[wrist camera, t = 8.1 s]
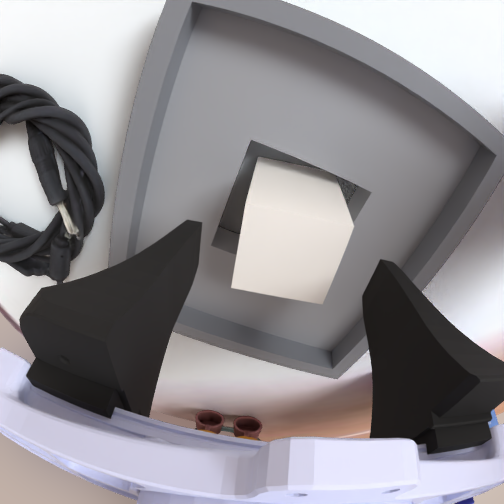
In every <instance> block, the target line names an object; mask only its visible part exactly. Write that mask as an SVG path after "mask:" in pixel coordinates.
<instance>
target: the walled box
mask: <svg viewBox="0 0 504 504" xmlns="http://www.w3.org/2000/svg"><path fill="white" fill-rule="evenodd" d="M251 140H253V141H255V142H258V143H261V144H263V145H266V146H268V147H271V148H273V149H276V150H278V151H281V152H283V153H286V154H288V155H291V156H293V157H296V158H298V159H300V160H303V161H305V162H307V163H310V164H312V165H314V166H316V167H319V168H321V169H323V170H325V171H328V172H330V173H332V174H334V175H337V176H339V177H341V178H343V179H345V180H347V181H349V182H351V183H354V184H356V185H358V186H357V188H356V190H355V192H354V193H353V195H352V197H351V199H350V200H349V202H348V204H347V207H348V210H349V213H350V216H351V218H352V221H353V224H354V228H353V231H352V234H351V236H350V239H349V241H348V244H347V247H346V249H345V252H344V254H343V257H342V259H341V262H340V264H339V267H338V269H337V271H336V274H335V276H334V279H333V281H332V283H331V286H330V288H329V290H328V293H327V295H326V297H325V300H324V302H323V304H317V303H311V302H305V301H299V300H294V299H288V298H283V297H277V296H272V295H266V294H261V293H256V292H250V291H245V290H240V289H235V288H231V285H232V279H233V273H234V267H235V261H236V256H237V250H238V244H239V238H240V234H237V233H235V232H232V231H229V230H226V229H224V228H221V227H218V225H219V223H220V220H221V217H222V215H223V212H224V209H225V206H226V204H227V201H228V198H229V196H230V193H231V191H232V188H233V185H234V183H235V180H236V177H237V175H238V172H239V170H240V167H241V165H242V162H243V159H244V157H245V154H246V152H247V149H248V147H249V144H250V142H251ZM503 175H504V136H503V135H502V134H501V133H500V132H499V131H498V130H497V129H496V128H495V127H494V126H493V125H491V124H490V123H489V122H488V121H487V120H486V119H485V118H484V117H483V116H481V115H480V114H479V113H478V112H477V111H476V110H474V109H473V108H472V107H471V106H470V105H468V104H467V103H466V102H465V101H463V100H462V99H461V98H460V97H458V96H457V95H456V94H455V93H453V92H452V91H451V90H449V89H448V88H447V87H445V86H444V85H443V84H441V83H440V82H438V81H437V80H436V79H434V78H433V77H431V76H430V75H428V74H427V73H425V72H424V71H423V70H421V69H420V68H418V67H416V66H415V65H413V64H412V63H410V62H409V61H407V60H405V59H404V58H402V57H401V56H399V55H397V54H396V53H394V52H392V51H391V50H389V49H387V48H385V47H384V46H382V45H380V44H378V43H376V42H375V41H373V40H371V39H369V38H367V37H365V36H363V35H361V34H359V33H357V32H355V31H353V30H351V29H349V28H347V27H345V26H343V25H341V24H339V23H336V22H334V21H332V20H330V19H327V18H325V17H323V16H320V15H318V14H316V13H313V12H311V11H308V10H306V9H303V8H300V7H298V6H295V5H292V4H290V3H287V2H284V1H281V0H166V3H165V5H164V8H163V11H162V13H161V16H160V19H159V21H158V24H157V27H156V30H155V33H154V36H153V39H152V42H151V45H150V48H149V51H148V54H147V57H146V61H145V64H144V67H143V71H142V74H141V78H140V81H139V85H138V89H137V93H136V97H135V101H134V105H133V109H132V113H131V117H130V122H129V126H128V131H127V135H126V140H125V145H124V150H123V156H122V161H121V167H120V173H119V179H118V185H117V192H116V199H115V206H114V214H113V222H112V232H111V242H110V253H109V266H108V268H110V267H112V266H115V265H117V264H119V263H121V262H123V261H125V260H127V259H129V258H131V257H133V256H134V255H136V254H138V253H140V252H141V251H143V250H144V249H146V248H147V247H149V246H151V245H152V244H154V243H155V242H157V241H158V240H159V239H161V238H162V237H164V236H165V235H166V234H168V233H169V232H171V231H172V230H173V229H175V228H176V227H177V226H179V225H180V224H181V223H183V222H184V221H186V220H193V221H198V222H202V232H201V243H200V255H199V265H198V268H197V272H196V275H195V278H194V281H193V285H192V287H191V289H190V292H189V294H188V296H187V298H186V301H185V303H184V305H183V307H182V310H181V312H180V314H179V316H178V319H177V321H176V323H175V325H174V328H173V330H172V331H173V332H176V333H179V334H181V335H184V336H187V337H190V338H193V339H196V340H199V341H202V342H205V343H208V344H211V345H214V346H217V347H220V348H223V349H226V350H229V351H233V352H236V353H239V354H242V355H246V356H249V357H253V358H256V359H259V360H263V361H267V362H270V363H274V364H277V365H281V366H285V367H289V368H292V369H296V370H300V371H304V372H308V373H312V374H317V375H321V376H325V377H329V378H334V379H338V378H339V377H340V376H341V375H342V374H343V373H345V372H346V371H347V370H348V369H349V368H350V367H351V366H352V365H353V364H354V363H355V362H356V361H357V360H358V359H359V358H360V357H361V356H362V355H363V354H364V353H365V352H366V351H367V350H368V349H369V346H368V341H367V335H366V330H365V325H364V319H363V307H362V295H363V293H364V291H365V289H366V287H367V285H368V283H369V281H370V279H371V277H372V275H373V273H374V271H375V269H376V267H377V265H378V263H379V261H380V259H383V260H387V261H392V262H394V263H395V264H396V265H397V266H398V267H399V268H400V269H401V270H402V271H403V272H404V273H405V274H406V275H407V276H408V278H409V279H410V280H411V281H412V282H413V283H414V284H415V286H416V287H417V288H418V289H419V290H420V291H421V292H422V290H423V289H424V288H425V287H426V286H427V284H428V283H429V282H430V281H431V280H432V278H433V277H434V276H435V275H436V273H437V272H438V271H439V269H440V268H441V267H442V266H443V264H444V263H445V262H446V260H447V259H448V258H449V256H450V255H451V254H452V252H453V251H454V250H455V248H456V247H457V246H458V244H459V243H460V242H461V240H462V239H463V237H464V236H465V235H466V233H467V232H468V230H469V229H470V227H471V226H472V224H473V223H474V221H475V220H476V218H477V217H478V215H479V214H480V212H481V211H482V209H483V208H484V206H485V205H486V203H487V202H488V200H489V198H490V197H491V195H492V193H493V192H494V190H495V188H496V187H497V185H498V183H499V182H500V180H501V178H502V177H503Z"/></svg>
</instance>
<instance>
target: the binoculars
mask: <svg viewBox="0 0 504 504" xmlns="http://www.w3.org/2000/svg"><path fill="white" fill-rule="evenodd" d="M195 418H196V427H197V428H195V430H200V431H204V432H209V433H214V434H219V433H220V431H227V432H233V433H234V435H235V437H237V438H243V439H249V440H257V441H261V440H260V439H259V438H258V436H259V433H260V431H261V429H262V424H261V422H260V421H259V420H258V419H256V418H253V417H250V416H241V417H238V418H236V419H235V420H234V428H230V427H224V426H223V423H224V417H223V416H222V415H221V414H220V413H218V412H215V411H212V410H204V411H200V412H198V413H197V414H196V417H195Z"/></svg>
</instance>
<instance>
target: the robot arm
mask: <svg viewBox="0 0 504 504" xmlns="http://www.w3.org/2000/svg"><path fill="white" fill-rule="evenodd" d="M201 232H202V222H198V221H193V220H186V221H184V222H183V223H181V224H180V225H179V226H177V227H176V228H175V229H173V230H172V231H171V232H169V233H168V234H166V235H165V236H164V237H162V238H161V239H159V240H158V241H157V242H155V243H154V244H152V245H151V246H149V247H147V248H146V249H144V250H143V251H141V252H140V253H138V254H136V255H134V256H133V257H131V258H129V259H127V260H125V261H123V262H121V263H119V264H117V265H115V266H112V267H110V268H107V269H105V270H103V271H100V272H98V273H95V274H93V275H90V276H87V277H84V278H81V279H77V280H74V281H71V282H67V283H63V284H58V285H54V286H49V287H44V288H41V290H40V291H39V292H38V293H37V295H36V296H35V297H34V299H33V300H32V301H31V303H30V304H29V305H28V307H27V308H26V309H25V311H24V312H23V313H22V315H21V317H20V327H21V330H22V333H23V335H24V337H25V339H26V341H27V343H28V344H29V346H30V348H31V350H32V352H33V353H34V355H35V357H36V359H35V360H34V362H33V364H32V365H31V364H30V363H29V362H27V360H25V359H24V358H22V357H20V356H18V355H16V354H14V353H12V352H10V351H9V350H7V349H5V348H0V432H1V433H2V434H3V435H4V436H6V437H7V438H9V439H11V440H12V441H14V442H15V443H17V444H19V445H20V446H22V447H23V448H25V449H27V450H29V451H30V452H32V453H34V454H35V455H37V456H39V457H41V458H42V459H44V460H46V461H48V462H50V463H52V464H53V465H56V466H58V467H59V468H61V469H63V470H65V471H67V472H69V473H71V474H73V475H75V476H77V477H80V478H82V479H84V480H86V481H88V482H91V483H93V484H95V485H97V486H100V487H102V488H105V489H107V490H110V491H112V492H115V493H117V494H120V495H123V496H125V497H128V498H131V499H134V500H137V504H452V503H456V502H459V501H462V500H465V499H468V498H471V497H474V496H477V495H480V494H482V493H484V492H486V491H489V490H490V489H493V488H495V487H497V486H499V485H501V484H502V483H504V424H499V425H496V426H493V427H491V428H489V424H488V422H490V421H491V420H492V415H491V411H492V410H493V409H495V408H496V407H497V406H498V405H499V404H501V403H502V402H503V401H504V362H503V361H501V360H500V359H498V358H496V357H494V356H493V355H491V354H490V353H488V352H487V351H485V350H484V349H482V348H481V347H479V346H478V345H477V344H475V343H474V342H473V341H471V340H470V339H469V338H468V337H467V336H465V335H464V334H463V333H462V332H460V331H459V330H458V329H457V328H456V327H455V326H454V325H453V324H451V323H450V322H449V321H448V320H447V319H446V318H445V317H444V316H443V315H442V314H441V313H440V312H439V311H438V310H437V309H436V308H435V307H434V306H433V305H432V303H431V302H430V301H429V300H428V299H427V298H426V297H425V296H424V295H423V294H422V292H421V291H420V290H419V289H418V288H417V287H416V286H415V284H414V283H413V282H412V281H411V280H410V279H409V278H408V276H407V275H406V274H405V273H404V272H403V271H402V270H401V269H400V268H399V267H398V266H397V265H396V264H395V263H394V262H392V261H387V260H383V259H380V261H379V263H378V265H377V267H376V269H375V271H374V273H373V275H372V277H371V279H370V281H369V283H368V285H367V287H366V289H365V291H364V293H363V295H362V307H363V319H364V325H365V330H366V335H367V341H368V346H369V352H370V358H371V365H372V379H373V405H372V421H371V432H370V438H327V437H288V438H283V439H277V440H273V441H271V442H264V441H257V440H249V439H243V438H237V437H230V436H225V435H220V434H214V433H209V432H204V431H200V430H195V429H191V428H186V427H182V426H178V425H174V424H170V423H166V422H163V421H159V420H155V419H152V418H149V415H150V410H151V406H152V401H153V397H154V393H155V389H156V385H157V381H158V377H159V373H160V369H161V366H162V362H163V358H164V355H165V352H166V348H167V345H168V342H169V338H170V335H171V333H172V330H173V328H174V325H175V323H176V321H177V319H178V316H179V314H180V312H181V310H182V307H183V305H184V303H185V301H186V298H187V296H188V294H189V292H190V289H191V287H192V285H193V281H194V278H195V275H196V272H197V268H198V265H199V255H200V243H201Z"/></svg>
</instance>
